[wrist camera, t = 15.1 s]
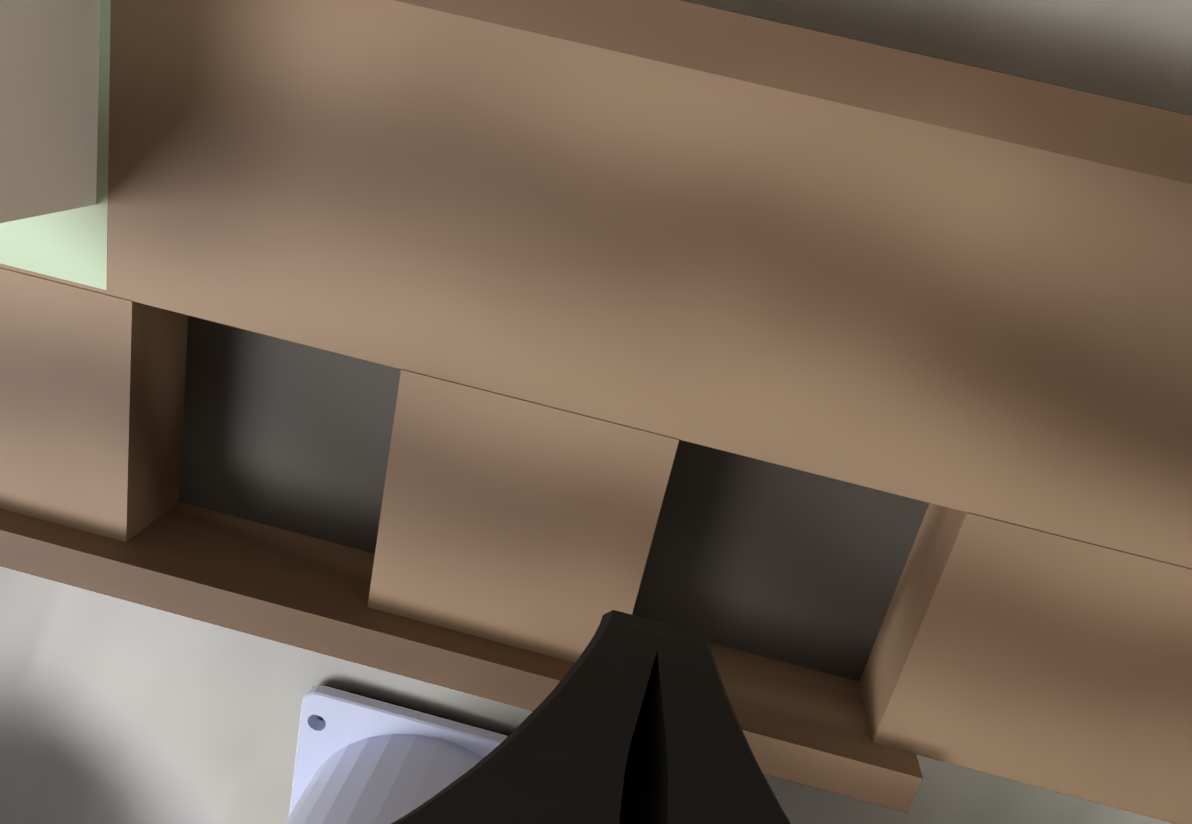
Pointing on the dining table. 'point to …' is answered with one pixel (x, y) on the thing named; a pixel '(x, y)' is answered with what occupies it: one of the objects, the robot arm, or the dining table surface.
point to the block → (48, 106)
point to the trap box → (632, 372)
